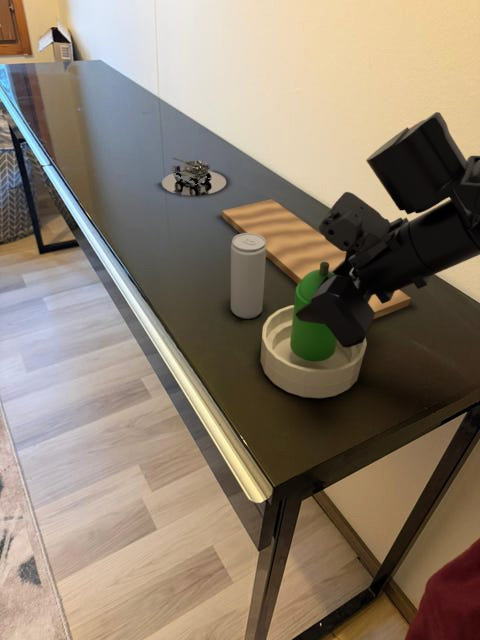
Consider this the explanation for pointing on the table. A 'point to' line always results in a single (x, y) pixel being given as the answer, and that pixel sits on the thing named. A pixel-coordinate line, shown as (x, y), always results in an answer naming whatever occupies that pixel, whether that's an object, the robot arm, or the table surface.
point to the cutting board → (297, 245)
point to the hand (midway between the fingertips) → (307, 303)
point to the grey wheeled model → (193, 179)
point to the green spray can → (306, 336)
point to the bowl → (306, 362)
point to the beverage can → (247, 274)
